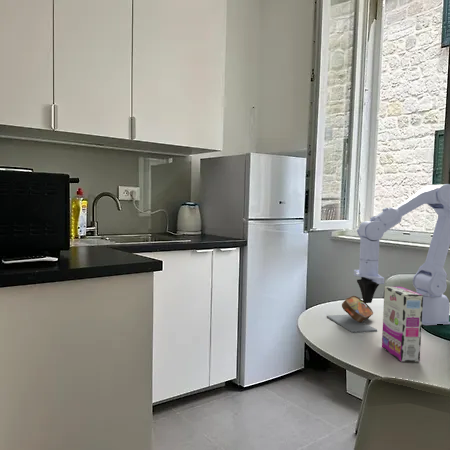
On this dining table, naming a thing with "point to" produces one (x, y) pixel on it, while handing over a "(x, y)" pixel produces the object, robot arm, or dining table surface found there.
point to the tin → (357, 309)
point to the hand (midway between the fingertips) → (367, 302)
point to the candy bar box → (402, 323)
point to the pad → (351, 323)
